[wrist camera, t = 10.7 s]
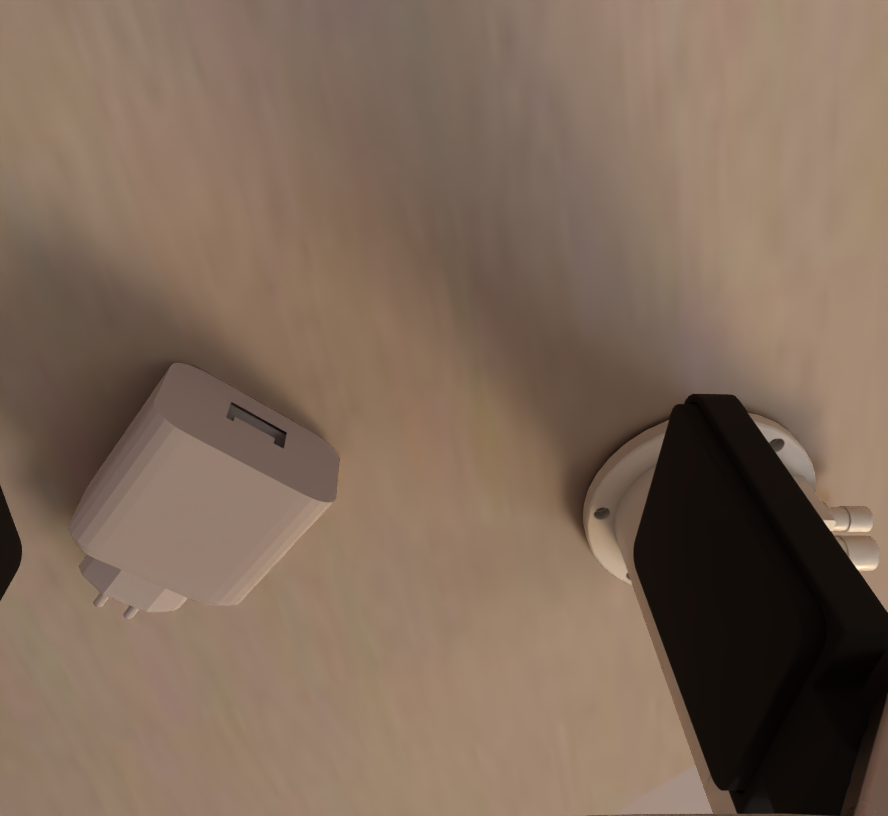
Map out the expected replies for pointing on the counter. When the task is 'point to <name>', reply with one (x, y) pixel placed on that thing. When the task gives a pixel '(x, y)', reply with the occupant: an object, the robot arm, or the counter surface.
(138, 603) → the charger
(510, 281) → the counter surface
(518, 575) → the counter surface
